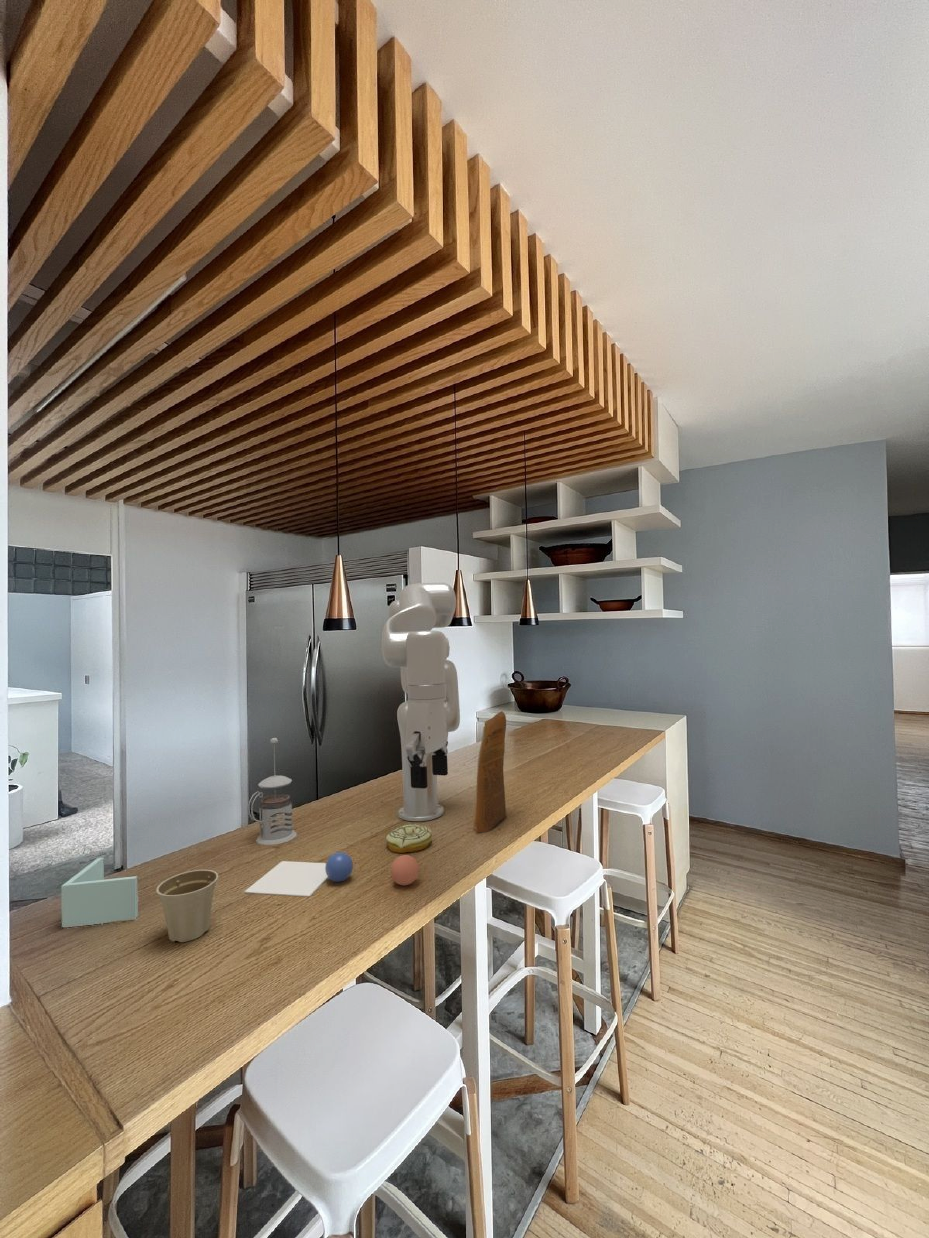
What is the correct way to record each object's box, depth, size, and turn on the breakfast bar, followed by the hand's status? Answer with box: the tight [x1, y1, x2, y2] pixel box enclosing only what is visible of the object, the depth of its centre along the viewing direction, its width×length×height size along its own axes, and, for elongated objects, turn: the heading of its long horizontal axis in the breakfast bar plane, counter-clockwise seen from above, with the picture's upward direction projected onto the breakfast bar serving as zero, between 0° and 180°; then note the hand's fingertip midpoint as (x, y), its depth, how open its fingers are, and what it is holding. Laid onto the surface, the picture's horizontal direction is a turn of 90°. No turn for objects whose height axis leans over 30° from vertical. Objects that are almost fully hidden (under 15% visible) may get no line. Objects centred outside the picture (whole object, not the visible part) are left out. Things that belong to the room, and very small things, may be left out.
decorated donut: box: [385, 823, 433, 854], centre depth 123 cm, size 10×11×4 cm
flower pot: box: [155, 869, 219, 943], centre depth 89 cm, size 9×9×9 cm
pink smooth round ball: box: [390, 854, 420, 886], centre depth 104 cm, size 6×6×6 cm
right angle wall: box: [60, 857, 140, 928], centre depth 99 cm, size 12×12×8 cm
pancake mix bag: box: [473, 710, 507, 834], centre depth 136 cm, size 7×19×28 cm, turn 153°
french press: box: [247, 737, 298, 846], centre depth 131 cm, size 10×12×25 cm
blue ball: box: [325, 851, 354, 883], centre depth 106 cm, size 6×6×6 cm
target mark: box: [243, 860, 329, 898], centre depth 108 cm, size 14×14×1 cm
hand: (430, 781), depth 102 cm, fingers open, 9 cm apart
